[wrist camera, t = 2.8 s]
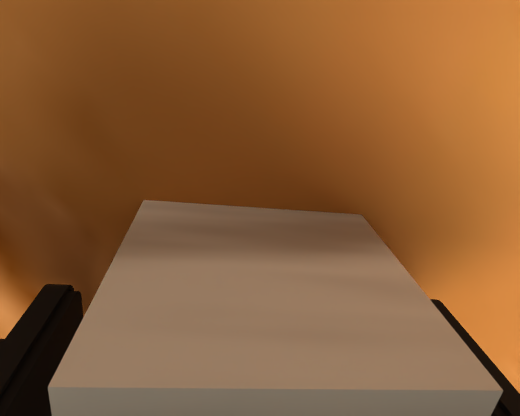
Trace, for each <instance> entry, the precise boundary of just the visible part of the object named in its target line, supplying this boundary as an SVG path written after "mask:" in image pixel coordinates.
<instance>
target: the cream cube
mask: <svg viewBox="0 0 520 416" xmlns="http://www.w3.org/2000/svg"><path fill="white" fill-rule="evenodd" d="M502 392H503V390H502V388H501V387H500V386H499V385H498V383H497V382H496V381H495V380H494V378H493V377H492V376H491V375H490V373H489V372H488V371H487V370H486V368H485V367H484V366H483V365H482V363H481V362H480V361H479V360H478V359H477V357H476V356H475V355H474V354H473V352H472V351H471V350H470V349H469V347H468V346H467V345H466V344H465V342H464V341H463V340H462V339H461V337H460V336H459V335H458V334H457V332H456V331H455V330H454V329H453V327H452V326H451V325H450V324H449V323H448V321H447V320H446V319H445V318H444V316H443V315H442V314H441V313H440V311H439V310H438V309H437V308H436V306H435V305H434V304H433V303H432V301H431V300H430V299H429V298H428V296H427V295H426V294H425V293H424V291H423V290H422V289H421V288H420V287H419V285H418V284H417V283H416V282H415V280H414V279H413V278H412V277H411V275H410V274H409V273H408V272H407V270H406V269H405V268H404V267H403V265H402V264H401V263H400V262H399V260H398V259H397V258H396V257H395V255H394V254H393V253H392V252H391V250H390V249H389V248H388V247H387V246H386V244H385V243H384V242H383V241H382V239H381V238H380V237H379V236H378V234H377V233H376V232H375V231H374V229H373V228H372V227H371V226H370V224H369V223H368V222H367V221H366V219H365V218H364V217H363V216H362V215H361V214H346V213H331V212H316V211H301V210H286V209H272V208H257V207H242V206H227V205H212V204H197V203H183V202H168V201H153V200H143V202H142V204H141V206H140V208H139V210H138V212H137V214H136V216H135V218H134V220H133V222H132V224H131V226H130V228H129V230H128V232H127V234H126V235H125V237H124V239H123V241H122V243H121V245H120V247H119V249H118V251H117V253H116V255H115V257H114V259H113V261H112V263H111V265H110V267H109V269H108V271H107V272H106V274H105V276H104V278H103V280H102V282H101V284H100V286H99V288H98V290H97V292H96V294H95V296H94V298H93V300H92V302H91V304H90V306H89V308H88V309H87V311H86V313H85V315H84V317H83V319H82V321H81V323H80V325H79V327H78V329H77V331H76V333H75V335H74V337H73V339H72V341H71V343H70V345H69V347H68V348H67V350H66V352H65V354H64V356H63V358H62V360H61V362H60V364H59V366H58V368H57V370H56V372H55V374H54V376H53V378H52V380H51V382H50V384H49V385H48V393H49V400H50V406H51V413H52V416H491V414H492V412H493V410H494V408H495V406H496V404H497V402H498V400H499V398H500V396H501V394H502Z"/></svg>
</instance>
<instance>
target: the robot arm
mask: <svg viewBox="0 0 520 416" xmlns="http://www.w3.org/2000/svg"><path fill="white" fill-rule="evenodd" d="M430 300H431V301H432V303H433V304H434V305H435V306H436V308H437V309H438V310H439V311H440V313H441V314H442V315H443V316H444V318H445V319H446V320H447V321H448V323H449V324H450V325H451V326H452V327H453V329H454V330H455V331H456V332H457V334H458V335H459V336H460V337H461V339H462V340H463V341H464V342H465V344H466V345H467V346H468V347H469V349H470V350H471V351H472V352H473V354H474V355H475V356H476V357H477V359H478V360H479V361H480V362H481V363H482V365H483V366H484V367H485V368H486V370H487V371H488V372H489V373H490V375H491V376H492V377H493V378H494V380H495V381H496V382H497V383H498V385H499V386H500V387H501V388H502V390H503V392H502V394H501V396H500V398H499V400H498V402H497V404H496V406H495V408H494V410H493V412H492V414H491V416H520V394H519V393H518V391H517V390H516V389H515V388H514V387H513V386H512V384H511V383H510V382H509V381H508V380H507V378H506V377H505V376H504V375H503V374H502V373H501V371H500V370H499V369H498V368H497V367H496V366H495V364H494V363H493V362H492V361H491V360H490V359H489V357H488V356H487V355H486V354H485V353H484V351H483V350H482V349H481V348H480V347H479V346H478V344H477V343H476V342H475V341H474V340H473V339H472V337H471V336H470V335H469V334H468V333H467V332H466V330H465V329H464V328H463V327H462V326H461V324H460V323H459V322H458V321H457V320H456V319H455V317H454V316H453V315H452V314H451V313H450V312H449V310H448V309H447V308H446V307H445V306H444V305H443V303H442V302H441V301H439V300H434V299H430ZM82 319H83V310H82V298H81V293H80V292H79V291H74V288H73V286H71V285H55V284H47V285H45V286H44V287H43V288H42V290H41V291H40V293H39V294H38V295H37V297H36V298H35V299H34V301H33V302H32V303H31V305H30V306H29V307H28V309H27V310H26V311H25V313H24V314H23V315H22V317H21V318H20V319H19V321H18V322H17V323H16V325H15V326H14V328H13V329H12V330H11V332H10V333H9V334H8V336H7V337H6V338H5V339H0V416H52V413H51V406H50V400H49V393H48V385H49V384H50V382H51V380H52V378H53V376H54V374H55V372H56V370H57V368H58V366H59V364H60V362H61V360H62V358H63V356H64V354H65V352H66V350H67V348H68V347H69V345H70V343H71V341H72V339H73V337H74V335H75V333H76V331H77V329H78V327H79V325H80V323H81V321H82Z"/></svg>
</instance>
